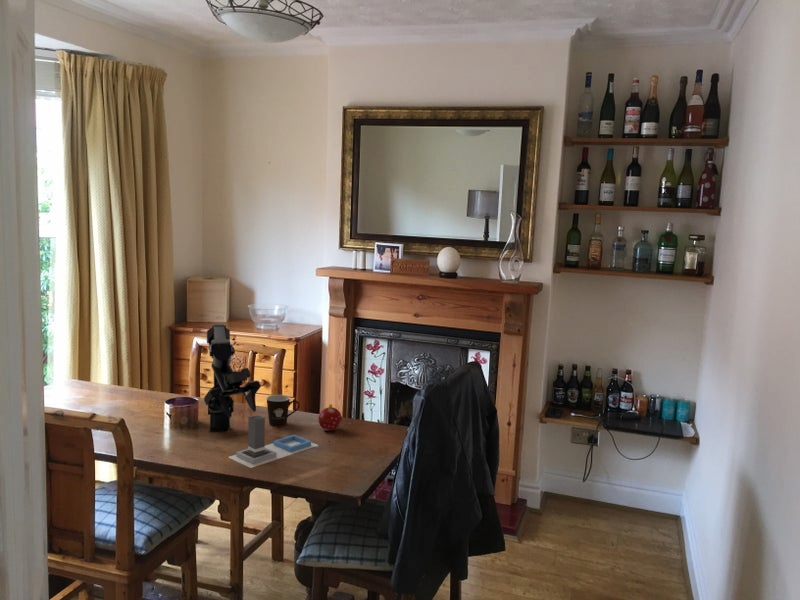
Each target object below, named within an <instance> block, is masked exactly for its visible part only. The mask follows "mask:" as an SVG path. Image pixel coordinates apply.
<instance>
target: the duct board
mask: <svg viewBox="0 0 800 600" xmlns="http://www.w3.org/2000/svg"><path fill="white" fill-rule="evenodd" d="M264 446H265V450H266V451H268V454H266V455H263V456H260V457H257V458H252V457H250V456H248V455H246V454H245V451H246V450H248V448H246V449H242V450H240V451H236V453H235V454H234V455H230V456H228V458H229V459H231V460H233V461H235V462H237V463H239V464H241V465H244V466H246V467H248V468H250V469H252V468H254V467H257V466H261V465H264V464H268V463H270V462H273V461H277V460H279V459H282V458H285V457H288V456H291V455H294V454H298V453H301V452H303V451H306V450H308V449H312V448H319V447H320V446H319V444H316V443H314V442H312V441H311V440H309V439H306V438H304V437H302V436H298V435H296V434H291V435H289V436H286V437H282V438H278V439H274V440H273V442H272V443H269V444H266V445H264ZM319 449H320V448H319Z"/></svg>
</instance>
